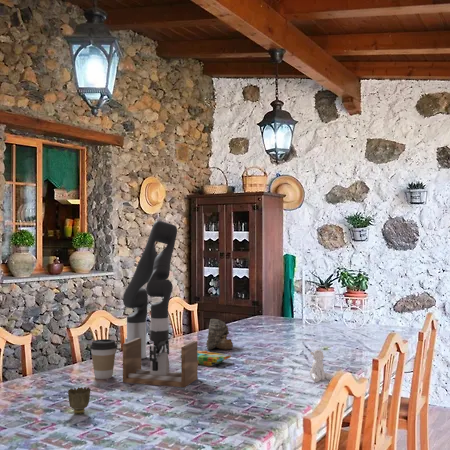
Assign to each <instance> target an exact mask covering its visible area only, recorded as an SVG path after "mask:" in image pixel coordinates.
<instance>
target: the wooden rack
mask: <svg viewBox="0 0 450 450" xmlns="http://www.w3.org/2000/svg"><path fill="white" fill-rule="evenodd" d="M197 350H198V341H196V340H194V341H192V342H190V343H187V344H186V345H184V346H181V350H180V353H181V354H180V358H181V359H180V360H181V361H180V365H181V366H180V367H181V372H174V371H169V376H158V375H150V369H149V370H148V369H142V359H141V338H136V339H134V340H131V341H128V342H126V343H125V342H124V343H122V383H128V384H140V385H141V384H142V385H143V384H144V385H153V386H163V387H164V386H165V387H177V388H178V387H179V388H186V387H187V386H189V385H190V384H192V383H194V382H195V381H197V380H198V371H199V370H198V365H199V364H198V360H197Z"/></svg>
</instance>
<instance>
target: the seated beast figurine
mask: <svg viewBox="0 0 450 450" xmlns="http://www.w3.org/2000/svg"><path fill="white" fill-rule="evenodd" d="M310 355H312V358H313V362H312V364H311V368H310V371H309V376H310V379H311V380H312V381H313V382H314V383H318V382H319V381H320V382H321V381H326V380H327V381H332V380H331V378H332V377H333V378H334V376H333V374H331V373H329V372H325V369H324V362H323V361H324V360H323V359H324V358H325V356H324V352H323V351H322V350H320V349H316V350H314V351H310Z"/></svg>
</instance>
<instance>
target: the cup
mask: <svg viewBox="0 0 450 450" xmlns="http://www.w3.org/2000/svg"><path fill="white" fill-rule="evenodd" d="M67 390H68V391H67V394H68V395H67V396H68V403H69V406H70V408H71V409H72V410H73V414H75V415H83V414H85V411H86V410H85V409H86V408H87V407H88V406H89V404H90V400H91V399H90V397H91V388H90V387H86V386H84V387H82V386H81V387H80V386H78V387H77V389H76V387H74V388H69V389H67Z"/></svg>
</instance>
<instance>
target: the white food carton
mask: <svg viewBox="0 0 450 450" xmlns="http://www.w3.org/2000/svg"><path fill="white" fill-rule="evenodd" d="M169 360H170V359H169V355H168V353H161V356H160V357H159V359H158V371H153V370H152V361H150V362H149V364H150V365H149V366H150V367H149V370H150V375H158V376H169V372H170V361H169Z"/></svg>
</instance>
